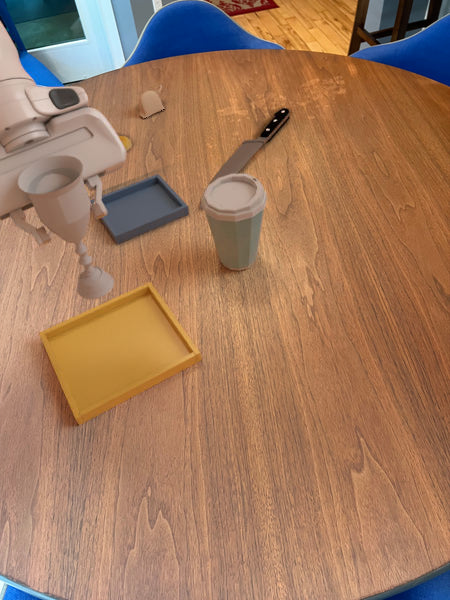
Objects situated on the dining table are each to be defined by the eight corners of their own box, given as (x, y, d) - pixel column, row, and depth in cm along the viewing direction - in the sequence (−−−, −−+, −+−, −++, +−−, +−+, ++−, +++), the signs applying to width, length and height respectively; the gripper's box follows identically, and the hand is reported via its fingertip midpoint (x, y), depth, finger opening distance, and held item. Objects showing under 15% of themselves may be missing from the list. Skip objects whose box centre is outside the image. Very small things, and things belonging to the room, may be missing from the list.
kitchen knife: (185, 209, 98) (182, 200, 96) (272, 114, 120) (271, 106, 118) (206, 214, 95) (204, 204, 94) (292, 116, 117) (291, 107, 116)
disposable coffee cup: (228, 288, 82) (222, 219, 70) (197, 253, 88) (186, 185, 77) (278, 262, 85) (280, 193, 74) (245, 230, 91) (242, 162, 80)
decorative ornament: (135, 114, 124) (131, 94, 120) (162, 102, 127) (158, 82, 123) (144, 119, 122) (139, 99, 118) (170, 108, 125) (167, 87, 121)
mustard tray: (79, 425, 67) (75, 418, 65) (42, 340, 77) (38, 332, 75) (201, 360, 72) (200, 352, 71) (152, 289, 83) (150, 281, 81)
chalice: (95, 312, 62) (47, 201, 49) (59, 293, 65) (4, 183, 52) (131, 277, 66) (96, 164, 53) (95, 260, 69) (53, 149, 55)
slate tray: (117, 244, 91) (115, 236, 90) (92, 208, 99) (89, 200, 98) (189, 214, 96) (188, 206, 94) (159, 181, 104) (158, 173, 102)
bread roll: (120, 165, 109) (115, 150, 106) (89, 157, 112) (84, 141, 109) (140, 147, 113) (137, 131, 110) (110, 139, 117) (106, 124, 114)
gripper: (-84, 147, 49) (-13, 266, 51) (95, 82, 56) (152, 189, 58) (-71, 166, 55) (-8, 272, 57) (89, 105, 62) (141, 201, 64)
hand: (74, 229), depth 58 cm, fingers closed on chalice, 6 cm apart
